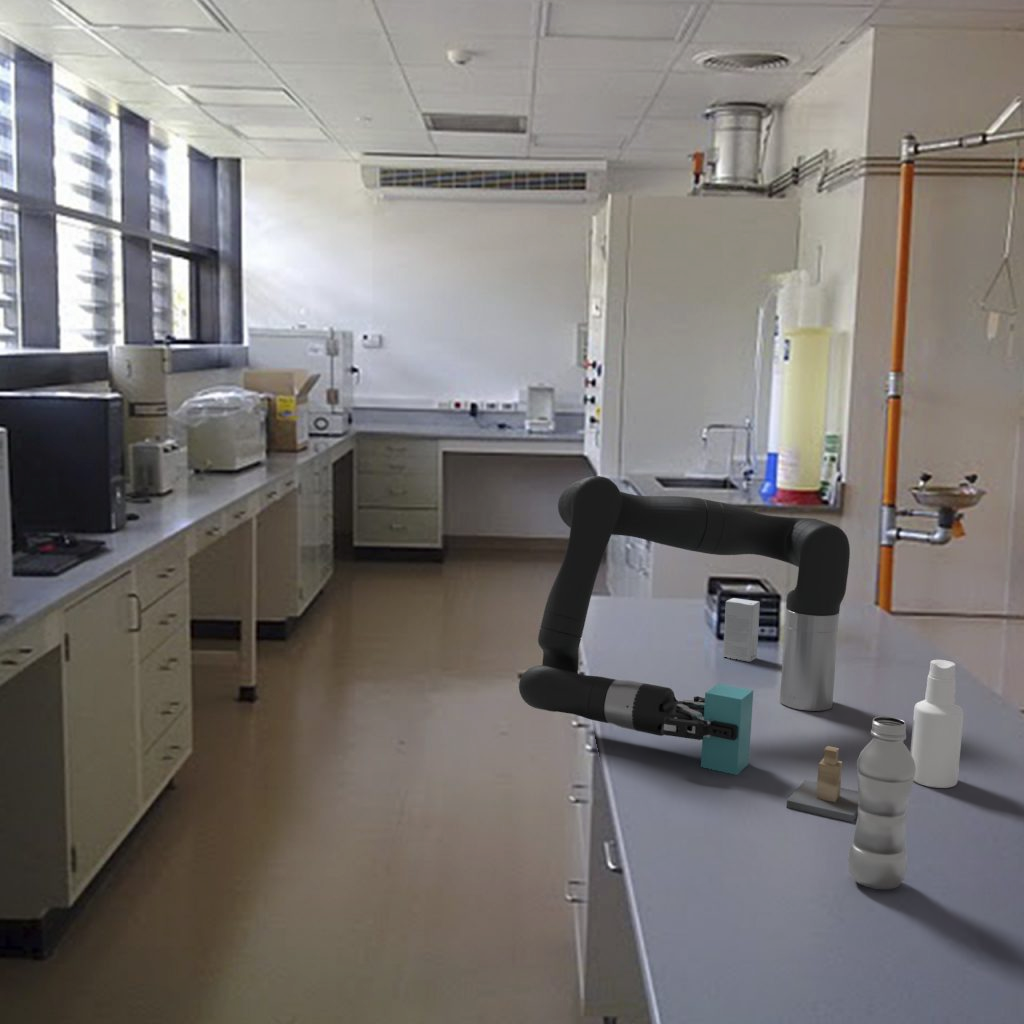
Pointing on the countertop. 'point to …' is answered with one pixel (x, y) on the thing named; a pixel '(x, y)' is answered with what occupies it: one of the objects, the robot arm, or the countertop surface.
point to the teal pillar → (730, 709)
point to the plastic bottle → (882, 806)
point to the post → (826, 791)
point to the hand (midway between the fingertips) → (743, 727)
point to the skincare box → (741, 629)
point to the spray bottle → (937, 729)
